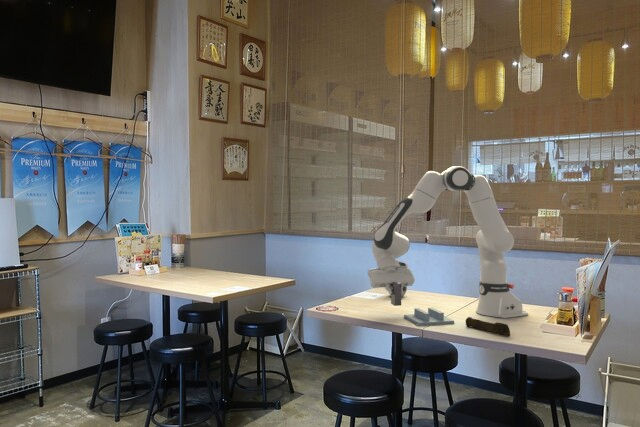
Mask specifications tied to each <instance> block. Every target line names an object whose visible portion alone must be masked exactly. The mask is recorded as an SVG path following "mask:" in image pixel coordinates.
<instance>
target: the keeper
mask: <svg viewBox="0 0 640 427" xmlns="http://www.w3.org/2000/svg"><path fill="white" fill-rule="evenodd" d="M427 309H428V310H427V311H425V310H424V309H421V308H419V307H418V308H414V309H413V310H414V311H413V312H414V314H412V313H411V314H410V313H409V314H404V319H406V320H408V321H410V322H411V321H412V322H411V323H413V324H415V325H417V326H418V325H419V326H421V327H423V326H434V325H453V324H455V320H454V319H451V318H449V317H447V316H445V313H444V312H442V311H441V310H439V309H437V308H434V307H427Z"/></svg>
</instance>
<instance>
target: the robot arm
mask: <svg viewBox="0 0 640 427" xmlns="http://www.w3.org/2000/svg"><path fill="white" fill-rule="evenodd" d="M443 191H448V192H461V191H462V192H463V193H464V194H465V195H466V197H467V201H468V204H469V208H470V210H471V213H472V217H473V219H474V221H475V222H476V224H477V225H478V228H479V230H478V231H477V233H476V234H475V242H476V244H477V248H478V256H479V261H480V264H479V265H480V275H479V276H480V277H479V278H480V280H479V283H478V284H479V285H478V286H479V287H478V291H479V295H478V296H479V297H478V302H477V307H476V309H475V310H476V311H475V312H476V313H477V314H480V315H483V316H487V317H495V318H496V317H497V318H503V319H507V318H515V317H517V318H518V317H523V316H528V315H529V312H528V311H526V310H524V309H523V303H522V300H520V299H519V297H517V296H516V295H515V294H513V293H512V291H511V290H513V289H514V288H515V284H512V283H507V263H506V261H505V258H504V254H505V253H507V252H510V251H511V250H512V249H513V248H514V245H515V238H514V236H513V234H512V233H511V232H510V231H509V229H508V227H507V224H506V222H505V221H504V219H503V217H502V215H501V214H500V211H499V208H498V205H497V201H496V199H495V196H494V192H493V190H492V188H491V186H490V183H489V181H488V180H487V178H486V177H485V176H484V175H482V174H473V173H472V172H470V170H468V168H466V167H464V166H460V165H458V166H451V167H449V168H447V169H445V170H443V171H442V172H437V171H433V170H429V171H426V172H425V174H424V175H423V176H422V177H421V178H420V180H419V181H418V183H417V184H416V186H414V189H413V190H412V192H411V193H410V194H409V195H408V196H407V197H404V198H403V199H401V200H400V201H399V203H398V204H397V205H396V206H395V208H394V209H393V210H392V211H391V213H390V214H389V215H388V217H387V219H386V220H385V221H384V222H383V223H382V224H381V225H380V226H379V227H378V228H377V229H376V231H375V232H374V234H373V241H372V244H371V245H372V246H371V249H372V254H373V257H374V260H375V261H376V268H369V269H368V270H367V275H368V278H369V284H370V286H371V287H372V288H373V289H376V288H377V289H378V288H384V289H385V290H386V291H387V292H388V294H389V295H390V296H391V295H393V294H394V291H393V289H390V287H391V283H392V282H400V283H401V294H403V286H407V287H412V286H413V285H414V283H415V281H416V279H415V276H414V274H413V272H412V270H411V269H410V268H409V265H408V263H407V262H403V261H399V260H397V259H399V258H400V257H402V256H404V255H405V254H406V253H408V251H409V249H410V244H411V243H410V240H409V238H408V237H407V236H406V235H404V234H402V233H399V232H398V231H396V229H397V228H398V227H399V226H400V224H401V223H402V221H403V219H405V218H406V216H408V215H410V214H423V213H426V212H429V211H430V210H431V209H432V207H434V205H435V204H436V201H437V200H438V198H439V197H440V194H441V193H442V192H443ZM510 289H511V290H510Z"/></svg>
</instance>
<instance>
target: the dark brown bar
mask: <svg viewBox="0 0 640 427" xmlns="http://www.w3.org/2000/svg"><path fill="white" fill-rule="evenodd" d="M465 326H466V327H469V328H476V329H479V330H484V331H489V332H491V333H494V334H495V335H497V334H498V336H502V337H511V330H510V327H509V324H506V323H504V322H494V323H493V322H489V321H483V320H480V319H478V318H473V317H471V316H468V317H466V319H465Z"/></svg>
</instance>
